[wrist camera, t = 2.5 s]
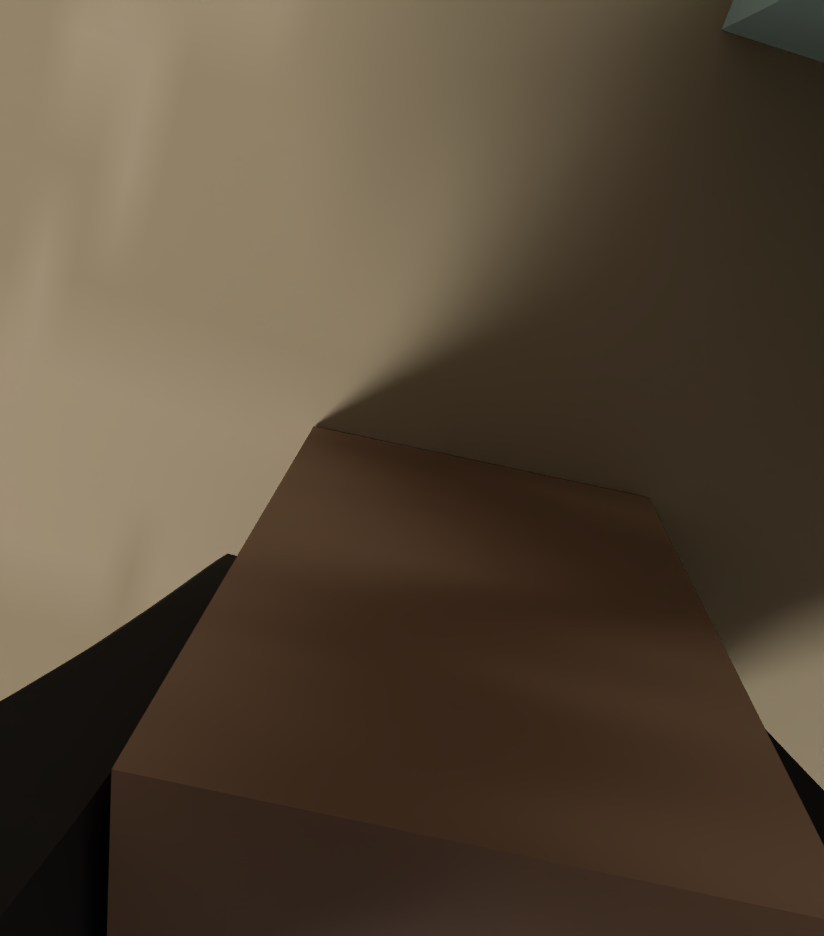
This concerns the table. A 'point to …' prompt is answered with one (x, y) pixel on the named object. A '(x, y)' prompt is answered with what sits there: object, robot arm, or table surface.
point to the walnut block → (455, 726)
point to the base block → (780, 24)
